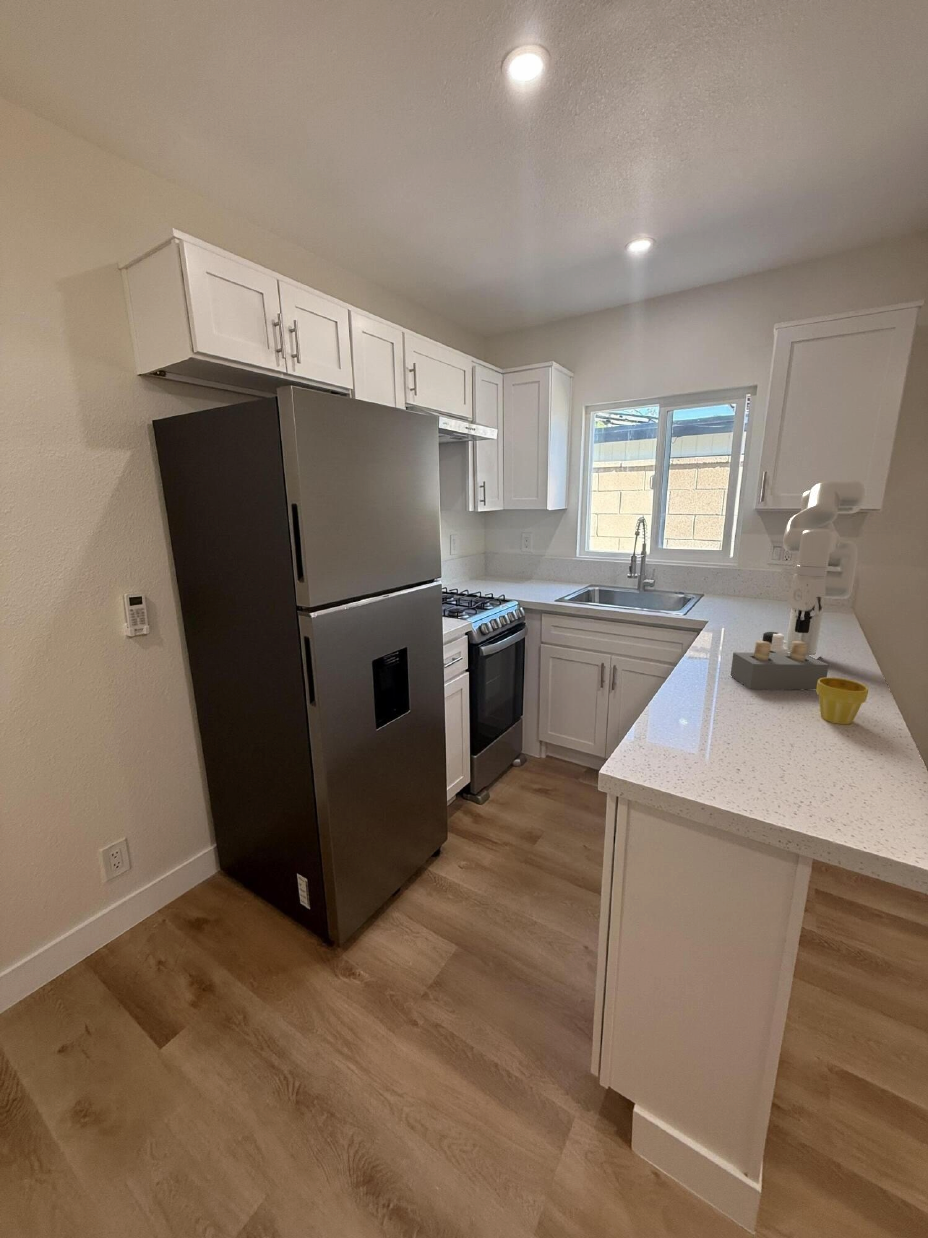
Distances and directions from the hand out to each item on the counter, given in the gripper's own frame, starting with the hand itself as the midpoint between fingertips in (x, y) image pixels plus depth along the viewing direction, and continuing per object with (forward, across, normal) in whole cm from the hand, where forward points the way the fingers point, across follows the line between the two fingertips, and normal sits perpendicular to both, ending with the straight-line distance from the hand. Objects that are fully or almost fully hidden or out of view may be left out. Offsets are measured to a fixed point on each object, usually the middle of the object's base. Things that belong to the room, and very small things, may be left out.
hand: (801, 632), depth 151 cm
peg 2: (+10, -1, 0) cm, 11 cm away
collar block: (+17, -1, -5) cm, 17 cm away
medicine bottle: (+16, -17, +2) cm, 23 cm away
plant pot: (+17, +26, -5) cm, 32 cm away
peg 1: (+11, -1, -11) cm, 15 cm away
